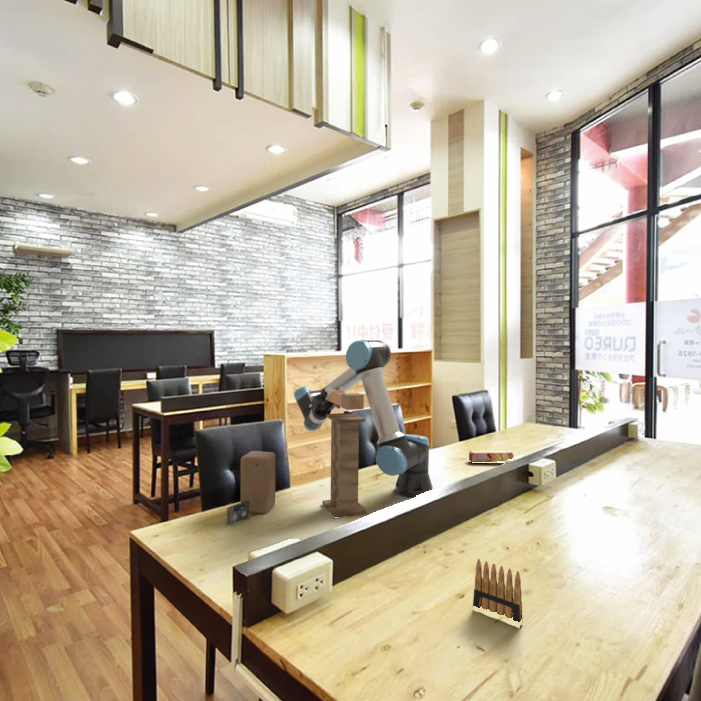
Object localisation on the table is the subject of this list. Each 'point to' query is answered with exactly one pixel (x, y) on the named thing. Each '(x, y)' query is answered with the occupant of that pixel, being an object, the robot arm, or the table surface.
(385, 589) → the table surface
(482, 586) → the ammunition clip
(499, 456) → the red printed rectangular box
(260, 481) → the wooden block
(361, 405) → the terracotta bar
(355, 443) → the walnut stand
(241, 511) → the mini dv tape
